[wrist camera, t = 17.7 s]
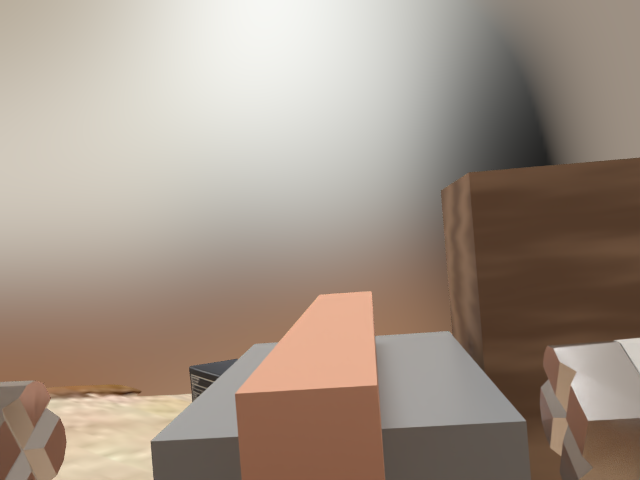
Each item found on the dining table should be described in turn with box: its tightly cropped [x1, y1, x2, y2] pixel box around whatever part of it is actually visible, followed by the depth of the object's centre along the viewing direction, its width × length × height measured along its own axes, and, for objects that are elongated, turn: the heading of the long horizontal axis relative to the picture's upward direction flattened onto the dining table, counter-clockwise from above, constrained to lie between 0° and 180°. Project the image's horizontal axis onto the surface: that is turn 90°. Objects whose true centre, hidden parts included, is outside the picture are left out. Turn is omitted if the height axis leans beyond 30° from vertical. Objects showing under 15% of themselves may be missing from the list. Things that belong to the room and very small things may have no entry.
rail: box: [235, 291, 385, 480], centre depth 24 cm, size 22×3×3 cm, turn 175°
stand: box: [441, 158, 640, 480], centre depth 37 cm, size 12×12×26 cm
